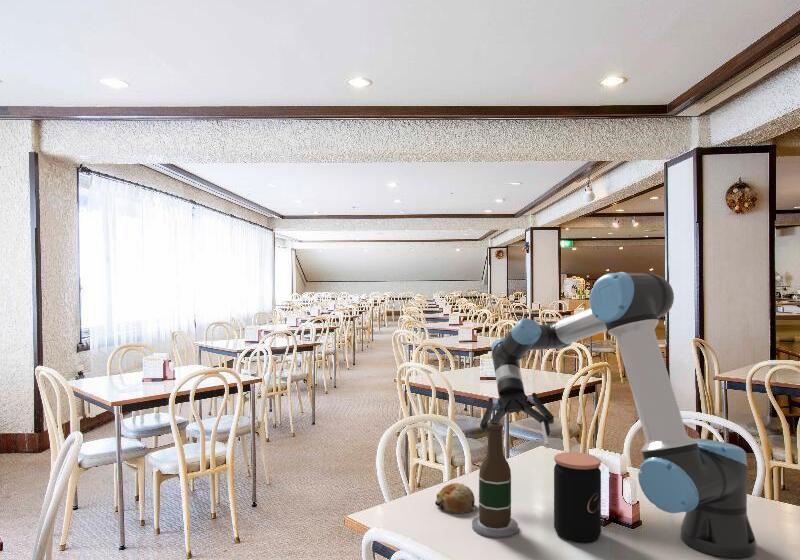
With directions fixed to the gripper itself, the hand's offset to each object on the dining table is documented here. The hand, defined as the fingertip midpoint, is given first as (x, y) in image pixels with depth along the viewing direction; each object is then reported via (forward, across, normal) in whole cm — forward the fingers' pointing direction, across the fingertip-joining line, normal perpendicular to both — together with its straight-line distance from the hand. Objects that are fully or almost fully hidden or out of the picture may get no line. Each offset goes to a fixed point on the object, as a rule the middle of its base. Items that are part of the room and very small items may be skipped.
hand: (521, 448), depth 154 cm
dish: (+21, +10, 0) cm, 23 cm away
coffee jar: (+23, -9, -1) cm, 25 cm away
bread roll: (+11, +20, -7) cm, 24 cm away
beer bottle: (+20, +10, +1) cm, 22 cm away
